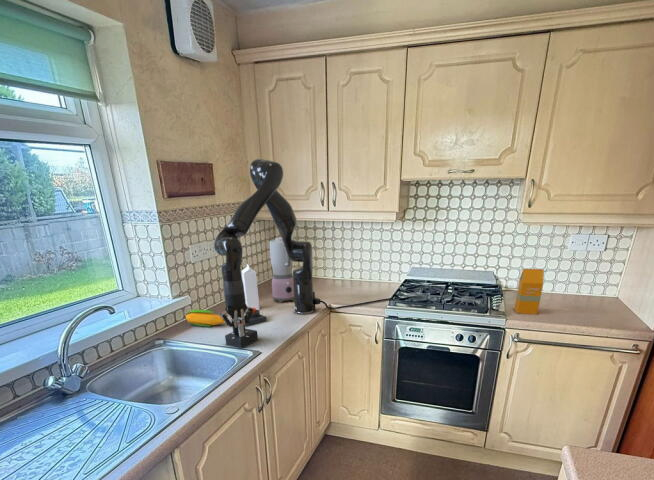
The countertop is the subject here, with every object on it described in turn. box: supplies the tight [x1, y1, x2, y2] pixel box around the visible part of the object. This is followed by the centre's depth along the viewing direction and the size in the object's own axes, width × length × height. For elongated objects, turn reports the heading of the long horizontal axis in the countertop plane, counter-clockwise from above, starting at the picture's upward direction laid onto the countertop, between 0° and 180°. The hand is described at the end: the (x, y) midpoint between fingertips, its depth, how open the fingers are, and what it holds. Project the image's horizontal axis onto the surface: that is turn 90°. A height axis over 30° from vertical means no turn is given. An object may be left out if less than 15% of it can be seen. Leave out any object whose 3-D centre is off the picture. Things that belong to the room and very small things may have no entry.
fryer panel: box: [224, 328, 259, 349], centre depth 162 cm, size 11×9×4 cm
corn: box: [185, 308, 226, 328], centre depth 181 cm, size 7×8×20 cm
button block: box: [237, 310, 267, 328], centre depth 186 cm, size 11×9×4 cm
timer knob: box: [237, 321, 244, 337], centre depth 159 cm, size 5×2×5 cm, turn 39°
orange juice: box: [513, 268, 544, 315], centre depth 190 cm, size 8×9×20 cm
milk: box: [241, 263, 261, 311], centre depth 200 cm, size 6×6×22 cm
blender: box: [269, 236, 294, 304], centre depth 211 cm, size 16×12×32 cm
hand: (239, 334), depth 160 cm, fingers closed on timer knob, 2 cm apart
